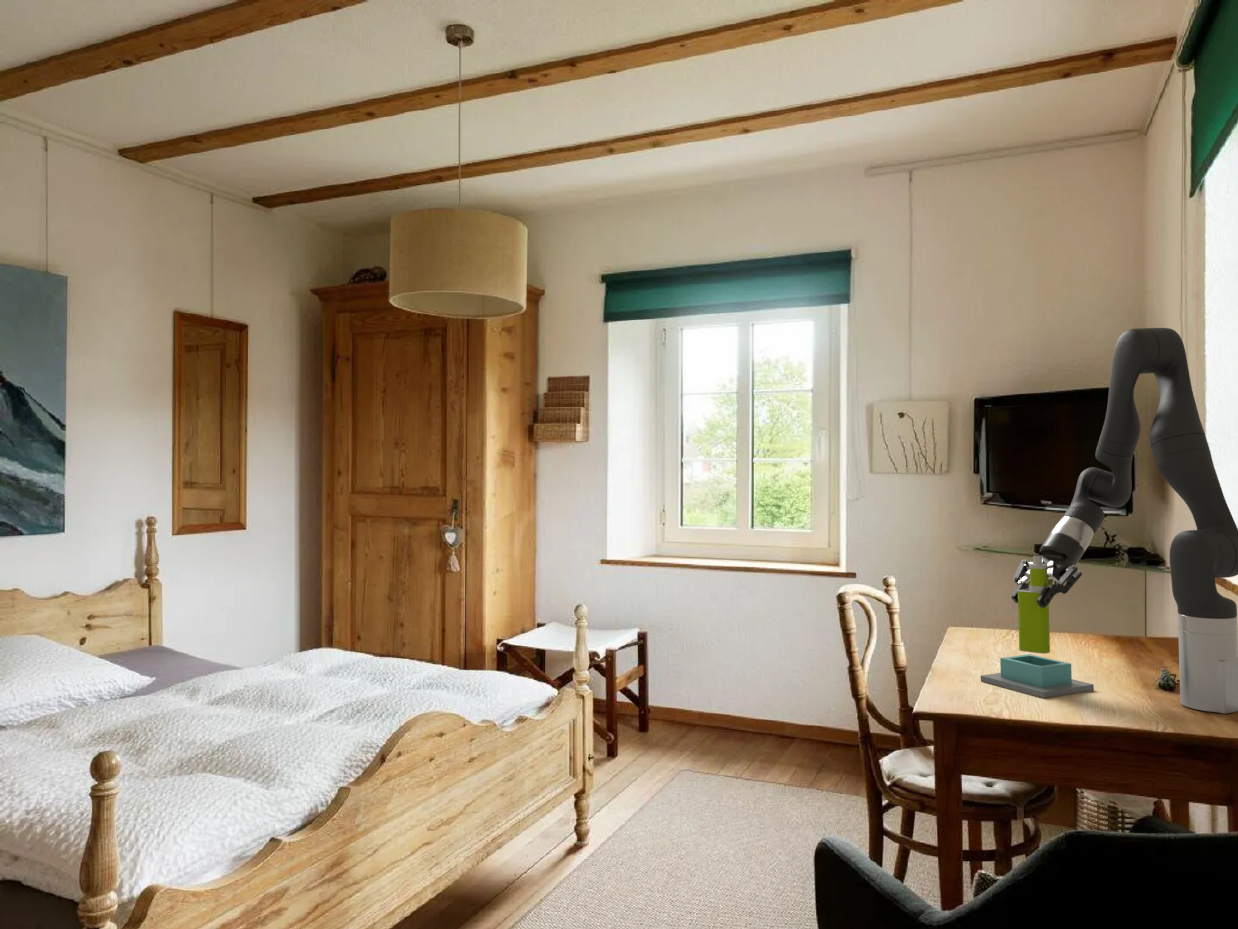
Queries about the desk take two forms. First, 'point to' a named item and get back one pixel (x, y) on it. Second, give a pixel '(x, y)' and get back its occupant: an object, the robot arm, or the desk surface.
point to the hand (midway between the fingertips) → (1027, 602)
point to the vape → (1034, 612)
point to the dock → (1036, 676)
